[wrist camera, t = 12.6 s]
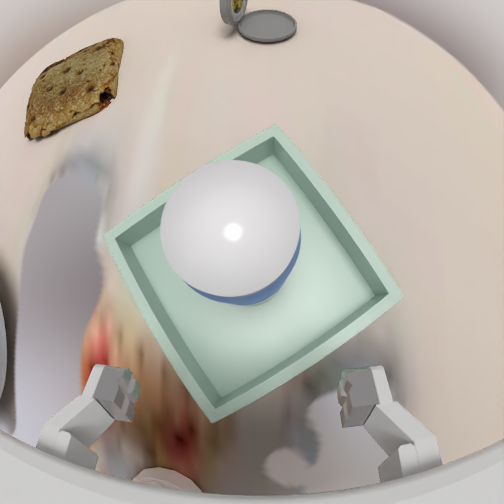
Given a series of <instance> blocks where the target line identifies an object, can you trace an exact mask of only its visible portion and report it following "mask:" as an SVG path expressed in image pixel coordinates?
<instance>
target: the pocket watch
mask: <svg viewBox="0 0 504 504" xmlns="http://www.w3.org/2000/svg"><path fill="white" fill-rule="evenodd" d="M234 2H235V3H234ZM246 6H247V0H220V13H221V17H222V19H223V21H224V22H225V23H226V24H229V25H238V29H239V31H240V33H241V34H242V35H243V36H245V37H246V38H249V39H251V40H254V41H260V42H275V41H280V40H284V39H286V38H288V37H290V36H291V35H293V34H294V33H295V31H296V26H297V23H296V21H295V19H294V18H293V17H292V16H290V15H288V14H286V13H284V12H281V11H277V10H258V11H253V12H250V13H248V14H246V15H244V12H245V10H246Z"/></svg>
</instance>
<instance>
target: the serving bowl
mask: <svg viewBox="0 0 504 504" xmlns="http://www.w3.org/2000/svg"><path fill="white" fill-rule="evenodd" d="M6 368H7V342H6V331H5V323H4V317H3V312H2V307H1V303H0V398H1V395H2V392H3V388H4V383H5V377H6Z"/></svg>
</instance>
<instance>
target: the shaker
mask: <svg viewBox="0 0 504 504" xmlns="http://www.w3.org/2000/svg"><path fill="white" fill-rule="evenodd" d="M160 236H161V243H162V248H163V251H164V254H165V256H166V258H167V260H168V262H169V264H170V265H171V267H172V268H173V270H174V271H175V272H176V273H177V274H178V276H179V277H180V278H182V279H183V280H184V282H185V283H186V284H187V285H188V286H189V287H190V288H192V289H193V290H194V291H195V292H197V293H199V294H200V295H202V296H204V297H206V298H208V299H210V300H214V301H217V302H222V303H228V304H235V305H241V306H257V305H261V304H263V303H266V302H267V301H269V300H270V299H272V298H273V297H274V296H275V295H276V294H277V293H278V291H279V290H280V288H281V287H282V285H283V284H284V282H285V280H286V279H287V277H288V276H289V274H290V273H291V271H292V269H293V267H294V266H295V263H296V261H297V258H298V255H299V251H300V245H301V229H300V216H299V210H298V207H297V204H296V201H295V199H294V197H293V195H292V193H291V191H290V190H289V188H288V187H287V186H286V185H285V183H284V182H283V181H282V180H281V179H280V178H279V177H278V176H276V175H275V174H274V173H272V172H271V171H269V170H268V169H266V168H264V167H262V166H260V165H257V164H254V163H251V162H247V161H240V160H225V161H218V162H214V163H211V164H208V165H205V166H203V167H201V168H199V169H197V170H195V171H193V172H192V173H191V174H189V175H188V176H186V177H185V178H184V179H183V180H182V181H181V182H180V183H179V184H178V185H177V186H176V188H175V189H174V190H173V192H172V193H171V195H170V196H169V198H168V200H167V202H166V204H165V207H164V210H163V213H162V218H161V225H160Z"/></svg>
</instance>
